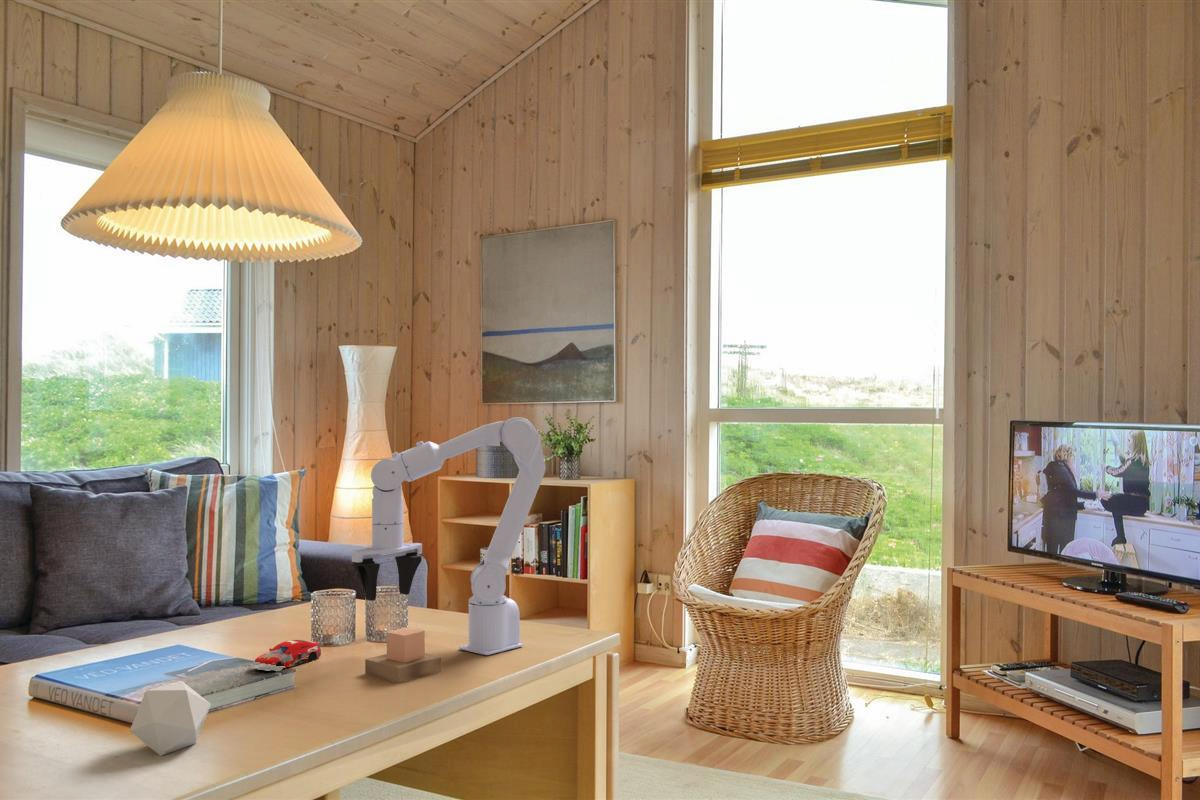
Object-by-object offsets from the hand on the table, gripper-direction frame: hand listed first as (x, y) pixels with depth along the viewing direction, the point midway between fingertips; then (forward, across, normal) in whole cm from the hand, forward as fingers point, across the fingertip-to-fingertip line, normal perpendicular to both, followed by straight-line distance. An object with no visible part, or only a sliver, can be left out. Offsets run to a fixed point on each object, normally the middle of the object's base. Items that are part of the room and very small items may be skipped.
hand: (387, 596), depth 173 cm
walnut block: (+11, +6, +13) cm, 18 cm away
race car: (+11, +16, -8) cm, 21 cm away
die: (+11, +49, +19) cm, 54 cm away
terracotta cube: (+8, +6, +13) cm, 17 cm away
